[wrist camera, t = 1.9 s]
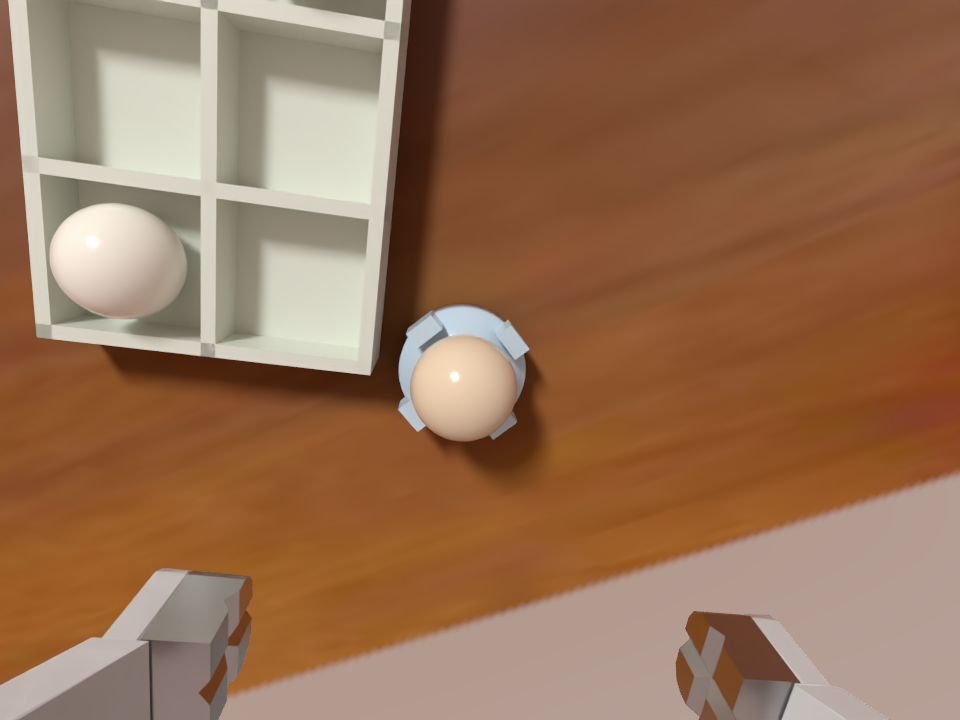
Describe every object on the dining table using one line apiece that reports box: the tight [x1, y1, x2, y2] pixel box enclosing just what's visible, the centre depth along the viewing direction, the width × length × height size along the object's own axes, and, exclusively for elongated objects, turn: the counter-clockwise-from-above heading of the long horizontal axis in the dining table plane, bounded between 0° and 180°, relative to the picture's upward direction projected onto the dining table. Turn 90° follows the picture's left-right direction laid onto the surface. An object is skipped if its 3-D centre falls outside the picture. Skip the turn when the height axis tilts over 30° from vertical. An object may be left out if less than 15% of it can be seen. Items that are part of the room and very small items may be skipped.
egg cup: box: [398, 304, 529, 440], centre depth 25 cm, size 6×6×3 cm
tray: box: [9, 0, 412, 375], centre depth 22 cm, size 14×20×3 cm
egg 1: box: [50, 203, 187, 319], centre depth 22 cm, size 5×5×5 cm
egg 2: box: [410, 334, 517, 441], centre depth 23 cm, size 5×5×5 cm
